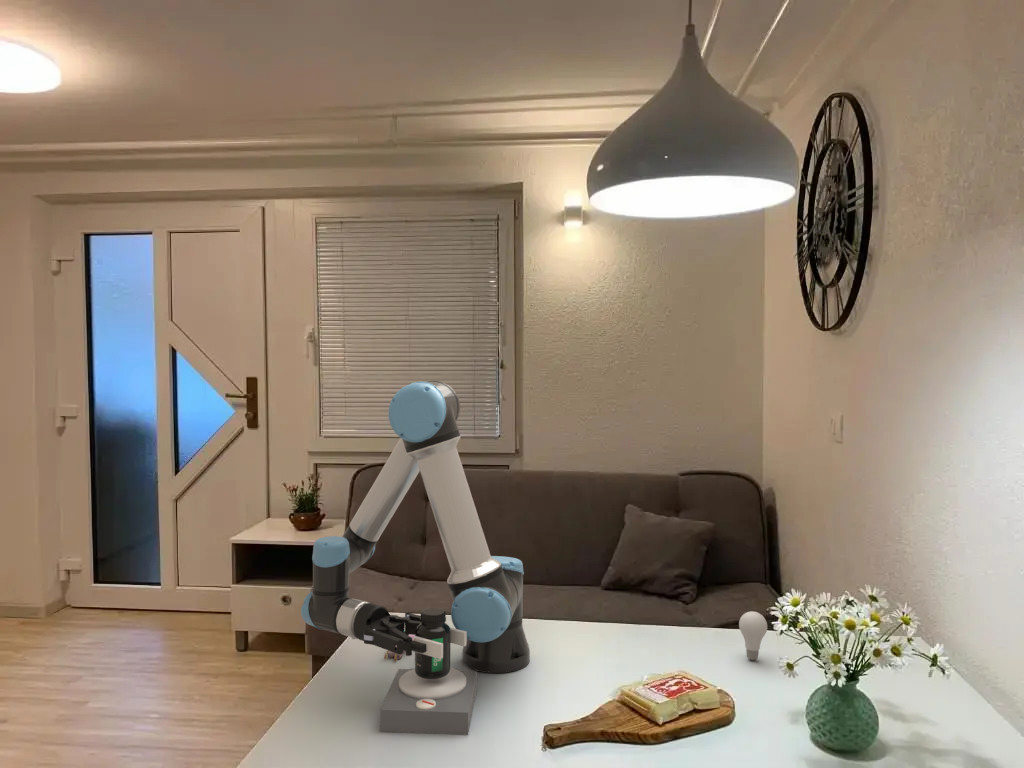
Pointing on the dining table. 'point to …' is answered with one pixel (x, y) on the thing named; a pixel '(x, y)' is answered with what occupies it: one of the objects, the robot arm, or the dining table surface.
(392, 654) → the pink unicorn toy
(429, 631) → the supplement bottle
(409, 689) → the kitchen scale
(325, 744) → the dining table surface
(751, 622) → the lightbulb
